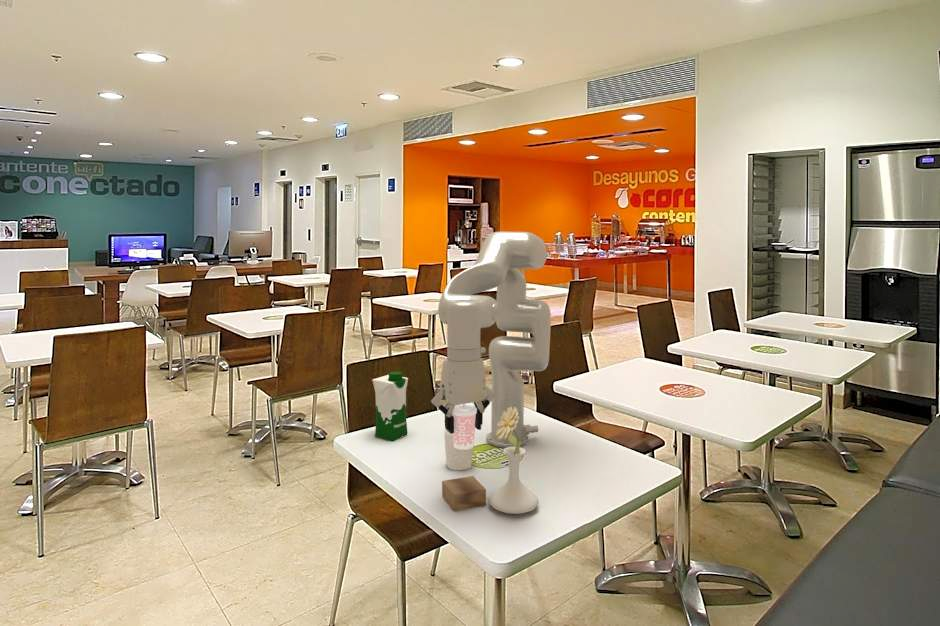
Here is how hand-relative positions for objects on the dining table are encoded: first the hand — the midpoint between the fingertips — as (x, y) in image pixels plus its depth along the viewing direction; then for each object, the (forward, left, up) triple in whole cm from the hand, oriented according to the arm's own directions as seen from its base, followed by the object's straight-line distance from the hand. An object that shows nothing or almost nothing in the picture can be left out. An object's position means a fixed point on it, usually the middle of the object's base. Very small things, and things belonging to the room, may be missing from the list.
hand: (463, 429), depth 147 cm
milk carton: (+4, -49, -18) cm, 52 cm away
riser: (0, 0, -18) cm, 18 cm away
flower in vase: (-9, +8, -18) cm, 22 cm away
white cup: (-7, -20, -18) cm, 28 cm away
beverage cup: (0, 0, -4) cm, 4 cm away
